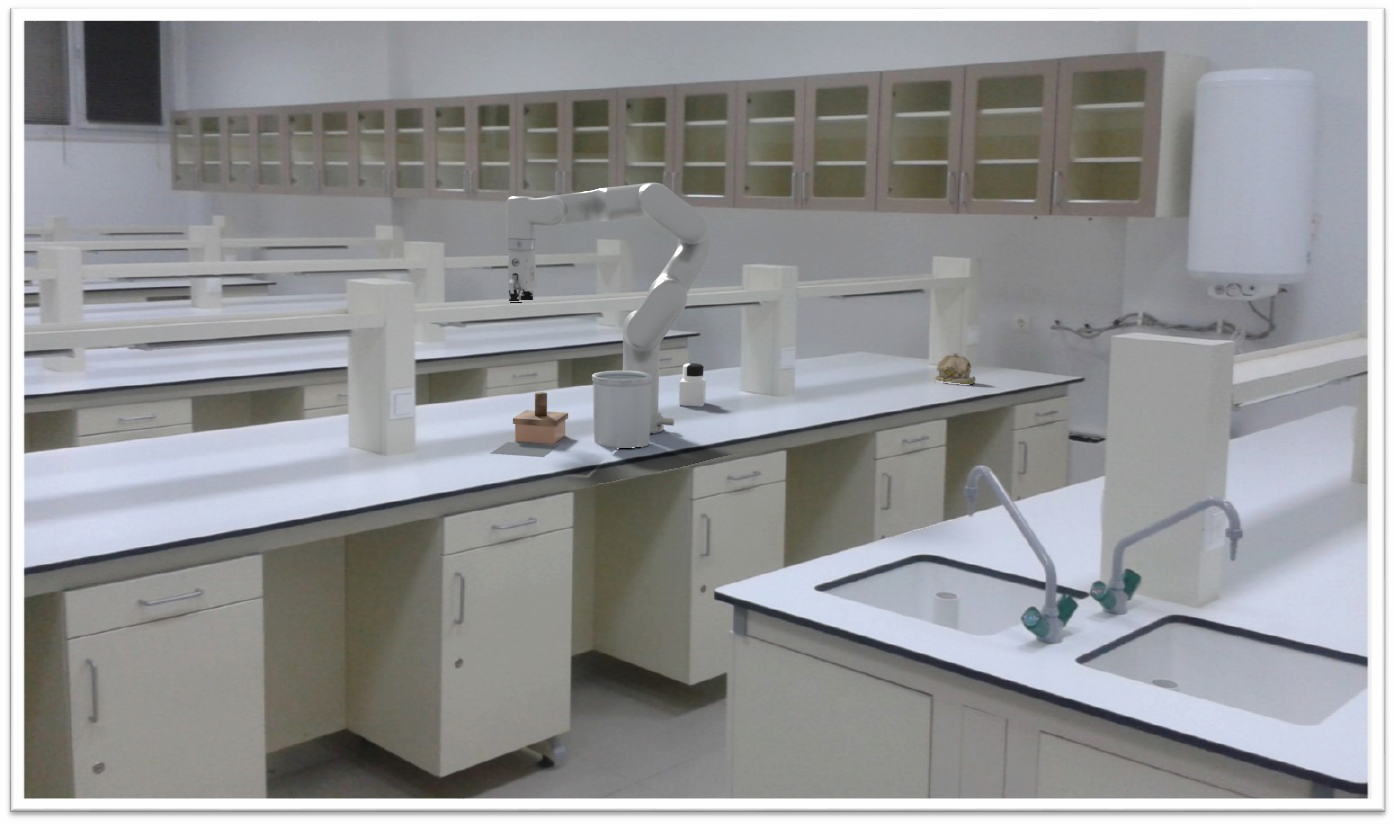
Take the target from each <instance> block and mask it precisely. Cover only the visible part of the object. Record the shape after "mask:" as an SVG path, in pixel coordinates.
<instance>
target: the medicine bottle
mask: <svg viewBox="0 0 1394 824" xmlns="http://www.w3.org/2000/svg"><path fill="white" fill-rule="evenodd" d="M678 384H679V385H678V387H679V391H678V406H679V405H682V406H681V407H700V408H701V407H704V406H705V403H706V388H707V387H706V386H707V379H705V378H704V365H702V364H701V363H696V362H692V363H691V362H689V363H685V364H683V365H682V378H681V380H680V381H679V383H678Z"/></svg>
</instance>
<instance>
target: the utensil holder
mask: <svg viewBox="0 0 1394 824" xmlns="http://www.w3.org/2000/svg"><path fill="white" fill-rule="evenodd" d="M591 379H592V393H593V394H592V398H593V399H592V401H593V402H592V403H593V407H592V409H593V411H592V412H593V439H594V440H593V441H594V443H595V444H596V445H599V446H603V447H607V448H608V447H609V448H632V447H641V448H645V447H647V446H648V445H649V443H650V435H651V434H650V399H651V381H652V375H651V374H649V373H646V372H639V371H623V370H606V371H599V372H595V373H593V374H592V375H591ZM644 446H645V447H644Z"/></svg>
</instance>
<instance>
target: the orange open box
mask: <svg viewBox="0 0 1394 824" xmlns="http://www.w3.org/2000/svg"><path fill="white" fill-rule="evenodd" d="M514 436H515V437H514V441H515V442H517V443H532V444H548V445H556V443H557V442H559V441H560V440H561V439H563V438H565V437H566V420H565V421H563V422H562V423H561V424H559V425H558V426H556V427H555V426H539V425H523V424H514Z"/></svg>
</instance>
